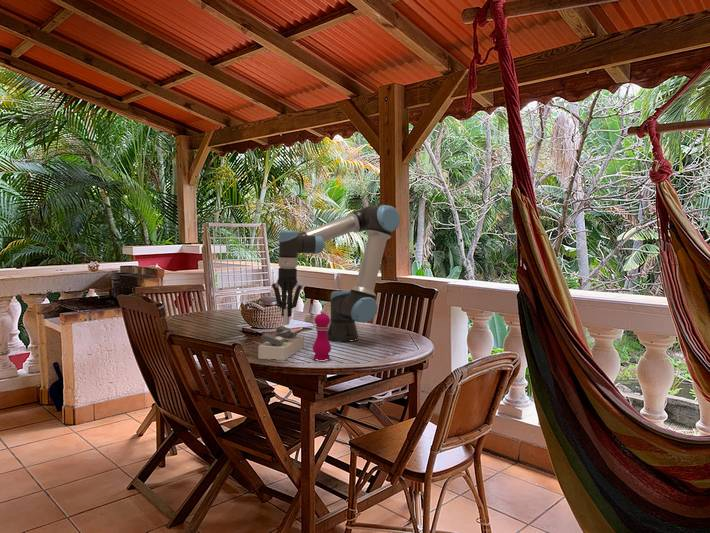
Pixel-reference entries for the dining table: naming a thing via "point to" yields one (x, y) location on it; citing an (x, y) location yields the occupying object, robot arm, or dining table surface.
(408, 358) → the dining table surface
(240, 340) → the dining table surface
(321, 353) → the pepper mill
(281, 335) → the rocker
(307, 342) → the dining table surface
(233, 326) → the dining table surface
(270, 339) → the rocker
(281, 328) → the rocker
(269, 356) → the power strip
